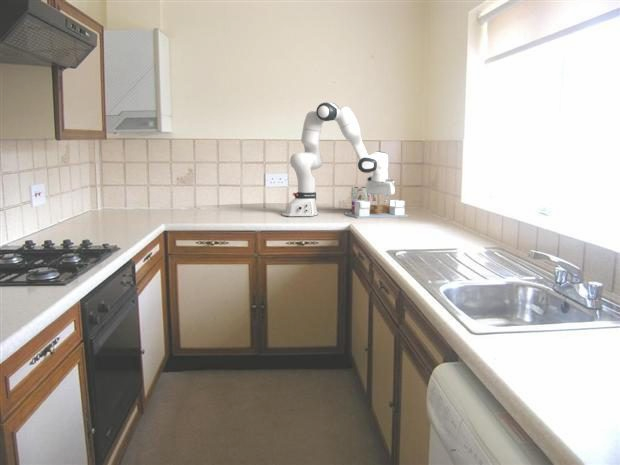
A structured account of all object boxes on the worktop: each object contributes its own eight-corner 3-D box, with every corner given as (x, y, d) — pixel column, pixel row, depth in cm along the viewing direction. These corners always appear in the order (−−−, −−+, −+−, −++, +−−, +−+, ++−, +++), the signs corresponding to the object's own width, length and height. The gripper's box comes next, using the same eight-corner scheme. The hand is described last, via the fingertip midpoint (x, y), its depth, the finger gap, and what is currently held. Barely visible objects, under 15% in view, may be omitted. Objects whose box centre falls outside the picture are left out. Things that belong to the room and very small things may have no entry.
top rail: (355, 214, 327) (355, 206, 326) (352, 213, 330) (352, 205, 330) (392, 212, 337) (392, 205, 336) (389, 212, 340) (389, 204, 340)
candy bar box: (369, 211, 352) (370, 186, 350) (368, 212, 347) (368, 187, 345) (352, 211, 355) (353, 186, 353) (351, 211, 351) (351, 186, 348)
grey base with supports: (357, 218, 315) (357, 202, 314) (344, 214, 334) (344, 199, 332) (408, 216, 326) (409, 201, 325) (392, 213, 345) (393, 198, 343)
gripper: (397, 179, 316) (396, 202, 318) (371, 177, 331) (370, 200, 333) (390, 179, 312) (389, 203, 314) (364, 178, 327) (364, 200, 329)
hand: (379, 201), depth 324 cm, fingers open, 8 cm apart
